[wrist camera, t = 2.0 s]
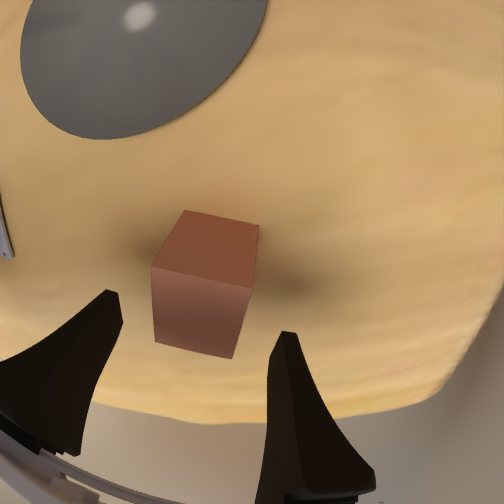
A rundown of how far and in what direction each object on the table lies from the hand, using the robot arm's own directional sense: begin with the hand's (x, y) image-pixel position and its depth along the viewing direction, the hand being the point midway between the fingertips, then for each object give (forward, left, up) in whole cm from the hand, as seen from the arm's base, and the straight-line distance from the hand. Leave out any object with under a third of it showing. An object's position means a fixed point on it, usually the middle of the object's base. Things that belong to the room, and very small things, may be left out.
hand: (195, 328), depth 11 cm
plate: (-7, +13, -5) cm, 16 cm away
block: (0, 0, -5) cm, 5 cm away
